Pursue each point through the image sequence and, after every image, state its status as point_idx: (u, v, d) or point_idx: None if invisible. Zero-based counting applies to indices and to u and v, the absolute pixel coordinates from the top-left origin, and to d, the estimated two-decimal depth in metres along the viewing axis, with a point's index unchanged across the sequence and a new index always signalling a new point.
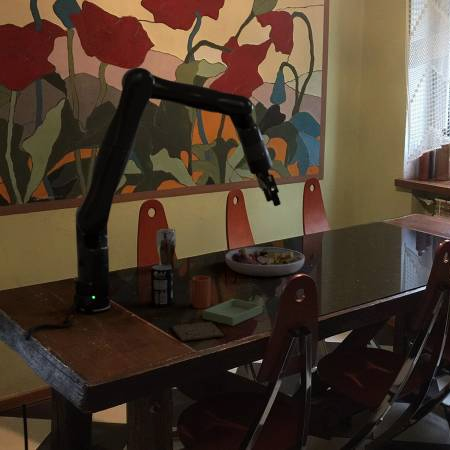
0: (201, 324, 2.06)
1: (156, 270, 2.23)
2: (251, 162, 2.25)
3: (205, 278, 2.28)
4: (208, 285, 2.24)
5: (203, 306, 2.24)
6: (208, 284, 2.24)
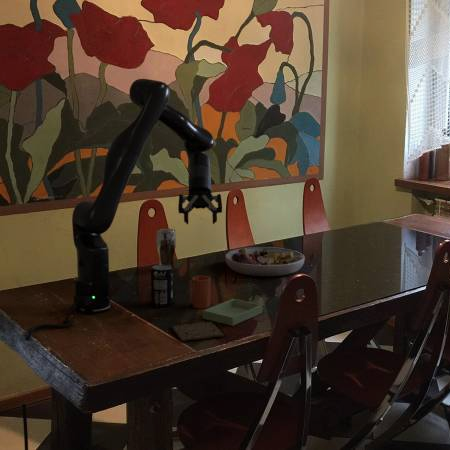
0: (201, 324, 2.06)
1: (156, 270, 2.23)
2: (206, 178, 2.39)
3: (205, 278, 2.28)
4: (208, 285, 2.24)
5: (203, 306, 2.24)
6: (208, 284, 2.24)
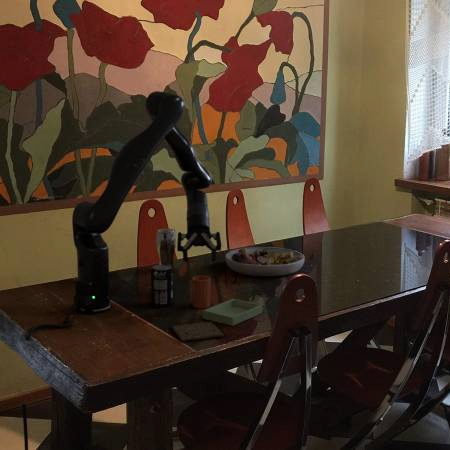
0: (201, 324, 2.06)
1: (156, 270, 2.23)
2: (205, 216, 2.39)
3: (205, 278, 2.28)
4: (208, 285, 2.24)
5: (203, 306, 2.24)
6: (208, 284, 2.24)
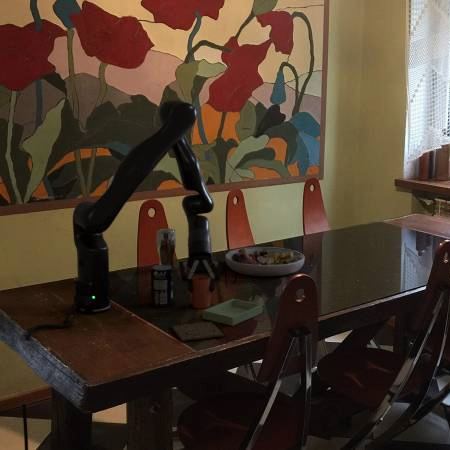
0: (201, 324, 2.06)
1: (156, 270, 2.23)
2: (207, 242, 2.31)
3: (205, 278, 2.28)
4: (208, 285, 2.24)
5: (203, 306, 2.24)
6: (208, 284, 2.24)
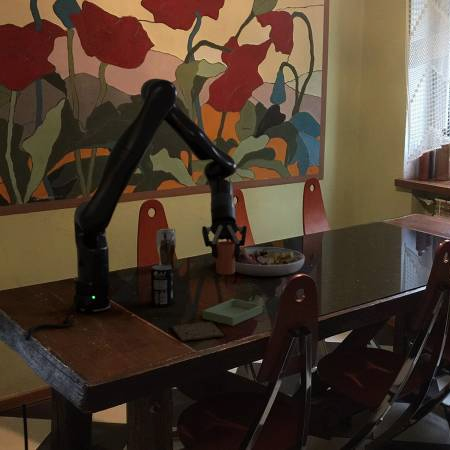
0: (201, 324, 2.06)
1: (156, 270, 2.23)
2: (231, 206, 2.22)
3: (229, 244, 2.19)
4: (233, 250, 2.15)
5: (228, 272, 2.15)
6: (233, 249, 2.15)
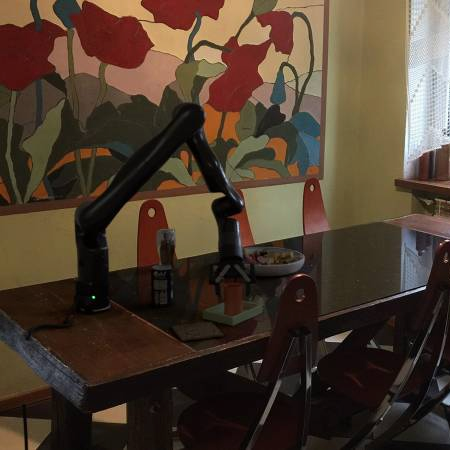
0: (201, 324, 2.06)
1: (156, 270, 2.23)
2: (238, 246, 2.22)
3: (237, 285, 2.19)
4: (241, 293, 2.15)
5: (235, 315, 2.16)
6: (241, 292, 2.15)
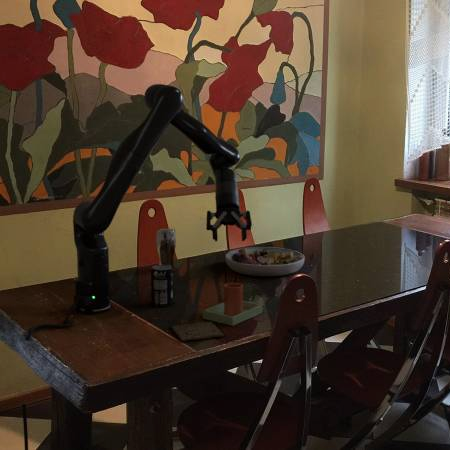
0: (201, 324, 2.06)
1: (156, 270, 2.23)
2: (235, 194, 2.32)
3: (237, 285, 2.19)
4: (241, 293, 2.15)
5: (235, 315, 2.16)
6: (241, 292, 2.15)
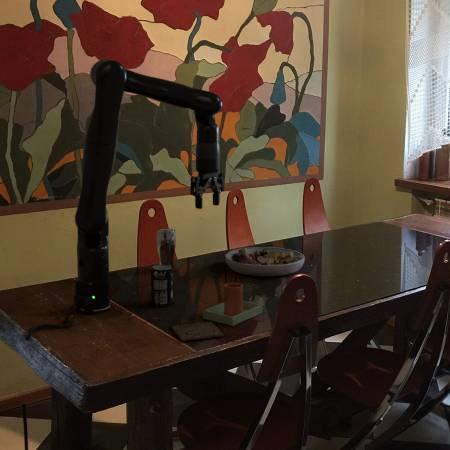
0: (201, 324, 2.06)
1: (156, 270, 2.23)
2: (219, 158, 2.27)
3: (237, 285, 2.19)
4: (241, 293, 2.15)
5: (235, 315, 2.16)
6: (241, 292, 2.15)
